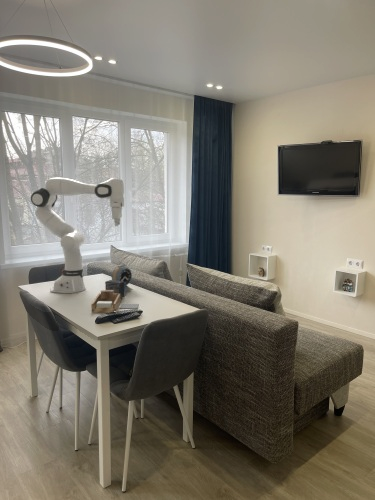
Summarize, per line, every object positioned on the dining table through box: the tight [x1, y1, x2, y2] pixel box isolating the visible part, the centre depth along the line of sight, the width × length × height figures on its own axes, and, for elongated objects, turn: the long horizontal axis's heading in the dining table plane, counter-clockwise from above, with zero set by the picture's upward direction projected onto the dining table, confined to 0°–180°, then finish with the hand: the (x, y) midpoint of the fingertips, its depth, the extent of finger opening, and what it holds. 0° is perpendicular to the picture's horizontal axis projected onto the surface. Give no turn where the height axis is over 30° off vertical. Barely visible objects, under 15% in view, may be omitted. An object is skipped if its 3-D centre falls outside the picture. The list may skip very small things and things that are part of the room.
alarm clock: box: [111, 264, 134, 293], centre depth 248 cm, size 14×10×18 cm
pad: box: [119, 303, 140, 310], centre depth 214 cm, size 10×8×1 cm
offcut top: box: [97, 301, 113, 308], centre depth 206 cm, size 8×4×2 cm, turn 90°
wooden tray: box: [91, 292, 121, 314], centre depth 212 cm, size 13×21×5 cm, turn 3°
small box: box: [104, 279, 125, 300], centre depth 231 cm, size 11×6×10 cm, turn 71°
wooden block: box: [100, 289, 114, 304], centre depth 215 cm, size 7×3×9 cm, turn 93°
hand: (117, 225), depth 237 cm, fingers open, 8 cm apart
